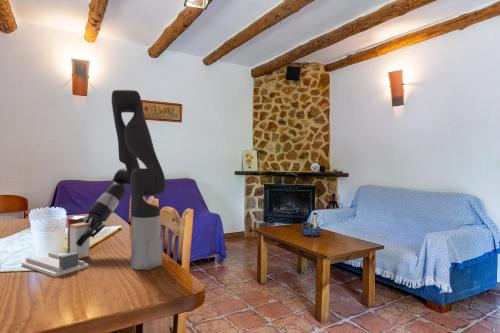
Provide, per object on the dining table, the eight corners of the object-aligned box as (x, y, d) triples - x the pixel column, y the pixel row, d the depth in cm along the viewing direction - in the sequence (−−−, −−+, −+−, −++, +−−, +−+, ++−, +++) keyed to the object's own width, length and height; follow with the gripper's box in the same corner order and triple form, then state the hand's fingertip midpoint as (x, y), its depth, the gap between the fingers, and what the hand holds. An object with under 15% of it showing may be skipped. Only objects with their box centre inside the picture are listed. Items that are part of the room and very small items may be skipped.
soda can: (91, 245, 135) (91, 216, 135) (75, 249, 128) (75, 219, 128) (79, 243, 138) (79, 215, 138) (63, 247, 131) (63, 218, 131)
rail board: (88, 266, 108) (88, 251, 108) (54, 276, 99) (54, 260, 99) (54, 257, 118) (54, 243, 118) (21, 265, 109) (21, 250, 109)
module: (89, 255, 120) (89, 223, 120) (76, 259, 116) (76, 225, 116) (82, 254, 122) (82, 222, 122) (69, 257, 118) (69, 224, 118)
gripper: (87, 199, 129) (55, 235, 119) (110, 202, 122) (79, 241, 111) (99, 211, 134) (70, 246, 123) (121, 214, 126) (93, 252, 116)
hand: (74, 243), depth 117 cm, fingers closed on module, 4 cm apart
